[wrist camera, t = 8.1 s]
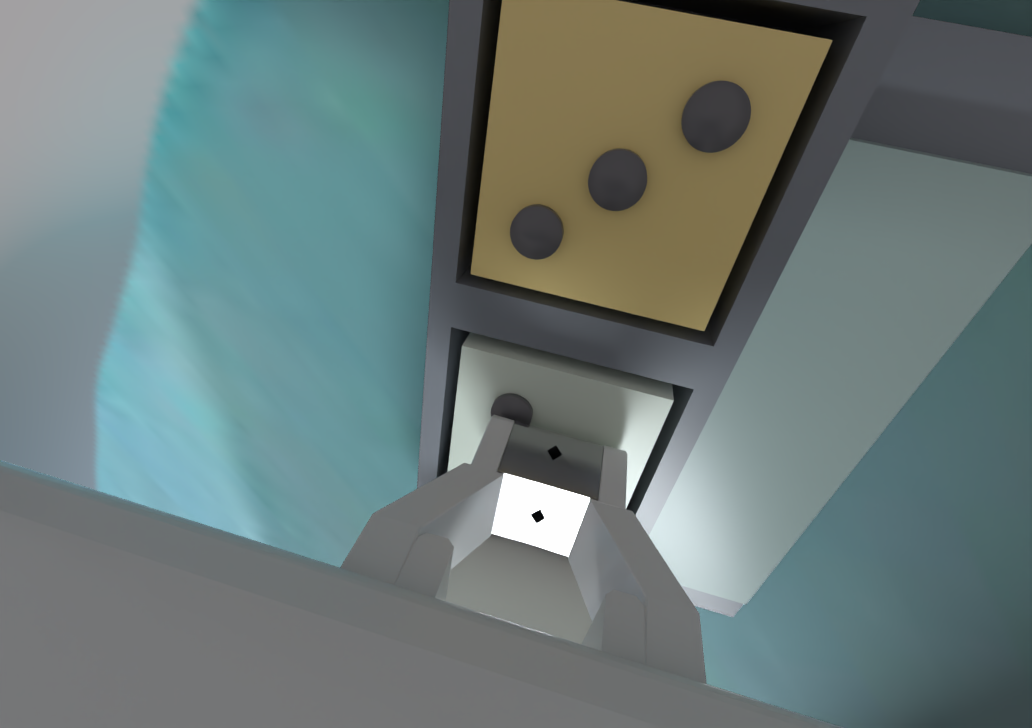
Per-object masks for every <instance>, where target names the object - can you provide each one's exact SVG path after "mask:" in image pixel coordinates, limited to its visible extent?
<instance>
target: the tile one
mask: <svg viewBox="0 0 1032 728" xmlns="http://www.w3.org/2000/svg"><path fill="white" fill-rule="evenodd" d="M568 558H569V557H567V556H564V555H561V554H558V553H555V552H552V551H549V550H546V549H543V548H540V547H537V546H534V545H531V544H528V543H524V542H520V541H517V540H513V539H509V538H506V537H502V536H498V535H494V534H491V536H490V537H489V538H488V539H486V540H485V541H484V542H483V543H482V544H481V545H479V546H478V547H477V548H476V549H475V550H474V551H472V552H471V553H470V554H469V555H468V556H466V557H465V558H464V559H463V560H462V561H461V562H459V563H458V564H457V565H456V566H455V567H454V568H452V569H451V570H450V576H449V582H448V589H447V595H446V602H449V603H453V604H456V605H459V606H462V607H465V608H468V609H471V610H474V611H478V612H481V613H484V614H487V615H490V616H493V617H496V618H500V619H503V620H506V621H509V622H512V623H515V624H518V625H522V626H525V627H528V628H531V629H534V630H537V631H540V632H544V633H547V634H550V635H553V636H556V637H559V638H562V639H566V640H569V641H572V642H575V643H578V644H582V642H583V640H584V638H585V636H586V634H587V632H588V630H589V628H590V626H591V624H592V620H591V617H590V615H589V612H588V610H587V607H586V604H585V602H584V599H583V597H582V594H581V591H580V589H579V586H578V583H577V581H576V578H575V576H574V573H573V570H572V568H571V565H570V563H569V560H568Z"/></svg>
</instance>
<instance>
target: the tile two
mask: <svg viewBox="0 0 1032 728" xmlns="http://www.w3.org/2000/svg"><path fill="white" fill-rule="evenodd" d="M673 401H674V397H673V386H672V384H671V383H667V382H663V381H659V380H655V379H651V378H648V377H644V376H640V375H636V374H632V373H628V372H624V371H620V370H616V369H612V368H609V367H605V366H601V365H597V364H593V363H589V362H585V361H581V360H577V359H573V358H570V357H566V356H562V355H558V354H554V353H550V352H546V351H542V350H538V349H534V348H531V347H527V346H523V345H519V344H515V343H511V342H507V341H503V340H499V339H495V338H492V337H488V336H484V335H480V334H476V333H472V332H470V334H469V335H468V337H467V338H466V340H465V342H464V343H463V345H462V350H461V359H460V367H459V376H458V385H457V393H456V402H455V411H454V419H453V428H452V437H451V445H450V454H449V463H448V471H450V470H452V469H454V468H456V467H457V466H459V465H461V464H463V463H467V464H471V463H472V460H473V458H474V456H475V453H476V451H477V449H478V446H479V444H480V442H481V439H482V437H483V435H484V432H485V430H486V427H487V425H488V423H489V420H490V418H491V417H492V416H493V415H498V416H501V417H504V418H508V419H511V420H514V421H519V422H522V423H525V424H529V425H532V426H535V427H539V428H542V429H545V430H549V431H552V432H555V433H559V434H562V435H566V436H569V437H573V438H577V439H581V440H584V441H588V442H592V443H595V444H599V445H602V446H603V445H605V446H608V447H612V448H616V449H620V450H624V451H626V452H627V483H626V508H627V506H628V503H629V501H630V499H631V497H632V494H633V492H634V490H635V488H636V485H637V483H638V481H639V478H640V476H641V474H642V472H643V469H644V467H645V465H646V463H647V460H648V458H649V456H650V454H651V451H652V449H653V447H654V444H655V442H656V440H657V438H658V435H659V433H660V431H661V429H662V426H663V424H664V422H665V420H666V417H667V415H668V413H669V411H670V408H671V406H672V404H673ZM448 471H447V472H448Z"/></svg>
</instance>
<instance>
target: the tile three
mask: <svg viewBox="0 0 1032 728" xmlns="http://www.w3.org/2000/svg"><path fill="white" fill-rule="evenodd" d="M832 41H833V40H830V39H824V38H819V37H813V36H808V35H802V34H797V33H792V32H786V31H781V30H775V29H770V28H765V27H759V26H754V25H748V24H743V23H737V22H732V21H727V20H721V19H716V18H710V17H705V16H699V15H694V14H689V13H683V12H678V11H672V10H667V9H661V8H656V7H651V6H645V5H640V4H634V3H629V2H624V1H618V0H502V6H501V14H500V23H499V32H498V40H497V49H496V58H495V66H494V75H493V84H492V92H491V101H490V109H489V118H488V127H487V135H486V144H485V153H484V161H483V170H482V179H481V187H480V196H479V204H478V213H477V222H476V230H475V239H474V248H473V256H472V265H471V274H472V275H476V276H480V277H484V278H488V279H492V280H496V281H500V282H504V283H509V284H513V285H517V286H521V287H525V288H529V289H533V290H537V291H541V292H545V293H549V294H553V295H558V296H562V297H566V298H570V299H574V300H578V301H582V302H586V303H590V304H594V305H598V306H602V307H607V308H611V309H615V310H619V311H623V312H627V313H631V314H635V315H639V316H643V317H647V318H651V319H655V320H660V321H664V322H668V323H672V324H676V325H680V326H684V327H688V328H692V329H696V330H700V331H705V329H706V326H707V324H708V322H709V320H710V317H711V315H712V313H713V310H714V308H715V306H716V304H717V301H718V299H719V297H720V295H721V292H722V290H723V288H724V286H725V283H726V281H727V279H728V276H729V274H730V272H731V270H732V267H733V265H734V263H735V261H736V258H737V256H738V254H739V252H740V249H741V247H742V245H743V242H744V240H745V238H746V236H747V233H748V231H749V229H750V227H751V224H752V222H753V220H754V218H755V215H756V213H757V211H758V209H759V206H760V204H761V202H762V199H763V197H764V195H765V193H766V190H767V188H768V186H769V184H770V181H771V179H772V177H773V175H774V172H775V170H776V168H777V165H778V163H779V161H780V159H781V156H782V154H783V152H784V150H785V147H786V145H787V143H788V141H789V138H790V136H791V134H792V132H793V129H794V127H795V125H796V122H797V120H798V118H799V116H800V113H801V111H802V109H803V107H804V104H805V102H806V100H807V98H808V95H809V93H810V91H811V88H812V86H813V84H814V82H815V79H816V77H817V75H818V73H819V70H820V68H821V66H822V64H823V61H824V59H825V57H826V54H827V52H828V50H829V48H830V45H831V43H832Z"/></svg>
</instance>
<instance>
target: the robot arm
mask: <svg viewBox="0 0 1032 728" xmlns="http://www.w3.org/2000/svg"><path fill="white" fill-rule="evenodd" d="M626 483H627V452H626V451H624V450H620V449H616V448H612V447H608V446H605V445H603V446H602V445H599V444H595V443H592V442H588V441H584V440H581V439H577V438H573V437H569V436H566V435H562V434H559V433H555V432H552V431H549V430H545V429H542V428H539V427H535V426H532V425H529V424H525V423H522V422H519V421H514V420H511V419H508V418H504V417H501V416H498V415H493V416H492V417H491V418H490V420H489V423H488V425H487V427H486V430H485V432H484V435H483V437H482V439H481V442H480V444H479V446H478V449H477V451H476V453H475V456H474V458H473V460H472V463H471V464H467V463H463V464H461V465H459V466H457V467H456V468H454V469H452V470H450V471H448V472H447V473H445V474H443V475H441V476H439V477H438V478H436V479H434V480H432V481H430V482H429V483H427V484H425V485H423V486H421V487H420V488H418V489H416V490H414V491H413V492H411V493H409V494H407V495H405V496H404V497H402V498H400V499H398V500H396V501H395V502H393V503H391V504H389V505H387V506H386V507H384V508H382V509H380V510H378V511H377V512H375V513H373V514H372V516H371V517H370V519H369V521H368V522H367V524H366V526H365V527H364V529H363V531H362V532H361V534H360V536H359V537H358V539H357V541H356V542H355V544H354V546H353V547H352V549H351V551H350V552H349V554H348V556H347V557H346V559H345V561H344V562H343V564H342V566H341V567H340V568H339V567H336V566H333V565H330V564H327V563H324V562H320V561H317V560H314V559H311V558H308V557H305V556H301V555H298V554H295V553H292V552H289V551H286V550H283V549H279V548H276V547H273V546H270V545H267V544H264V543H261V542H257V541H254V540H251V539H248V538H245V537H242V536H238V535H235V534H232V533H229V532H226V531H223V530H220V529H216V528H213V527H210V526H207V525H204V524H201V523H198V522H194V521H191V520H188V519H185V518H182V517H179V516H176V515H172V514H169V513H166V512H163V511H160V510H157V509H153V508H150V507H147V506H144V505H141V504H138V503H135V502H131V501H128V500H125V499H122V498H119V497H116V496H113V495H109V494H106V493H103V492H100V491H97V490H94V489H90V488H87V487H84V486H81V485H78V484H74V483H72V482H68V481H65V480H62V479H59V478H56V477H53V476H50V475H46V474H43V473H40V472H36V471H33V470H31V469H27V468H24V467H21V466H18V465H14V464H12V463H9V462H5V461H2V460H0V728H843V727H840V726H837V725H834V724H831V723H828V722H824V721H821V720H818V719H815V718H812V717H809V716H806V715H802V714H799V713H796V712H793V711H790V710H787V709H784V708H780V707H777V706H774V705H771V704H768V703H765V702H761V701H758V700H755V699H752V698H749V697H746V696H743V695H739V694H736V693H733V692H730V691H727V690H724V689H721V688H717V687H714V686H711V685H708V684H706V675H705V665H704V655H703V645H702V635H701V625H700V615H699V613H698V611H697V610H696V608H695V606H694V605H693V603H692V602H691V600H690V599H689V597H688V596H687V594H686V593H685V591H684V590H683V588H682V587H681V585H680V583H679V582H678V580H677V579H676V577H675V576H674V574H673V573H672V571H671V570H670V568H669V567H668V565H667V563H666V562H665V560H664V559H663V557H662V556H661V554H660V553H659V551H658V550H657V548H656V547H655V545H654V543H653V542H652V540H651V539H650V537H649V536H648V534H647V533H646V531H645V530H644V528H643V527H642V525H641V523H640V522H639V520H638V519H637V517H636V516H635V514H634V513H633V511H630V510H627V509H626ZM491 534H494V535H498V536H502V537H506V538H509V539H513V540H517V541H520V542H524V543H528V544H531V545H534V546H537V547H540V548H543V549H546V550H549V551H552V552H555V553H558V554H561V555H564V556H567V557H569V558H568V560H569V563H570V565H571V568H572V570H573V573H574V576H575V578H576V581H577V583H578V586H579V589H580V591H581V594H582V597H583V599H584V602H585V604H586V607H587V610H588V612H589V615H590V617H591V620H592V624H591V626H590V628H589V630H588V632H587V634H586V636H585V638H584V640H583V642H582V644H578V643H575V642H572V641H569V640H566V639H562V638H559V637H556V636H553V635H550V634H547V633H544V632H540V631H537V630H534V629H531V628H528V627H525V626H522V625H518V624H515V623H512V622H509V621H506V620H503V619H500V618H496V617H493V616H490V615H487V614H484V613H481V612H478V611H474V610H471V609H468V608H465V607H462V606H459V605H456V604H453V603H449V602H446V595H447V589H448V582H449V576H450V570H451V569H452V568H454V567H455V566H456V565H457V564H458V563H459V562H461V561H462V560H463V559H464V558H465V557H466V556H468V555H469V554H470V553H471V552H472V551H474V550H475V549H476V548H477V547H478V546H479V545H481V544H482V543H483V542H484V541H485V540H486V539H488V538H489V537H490V536H491Z"/></svg>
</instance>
